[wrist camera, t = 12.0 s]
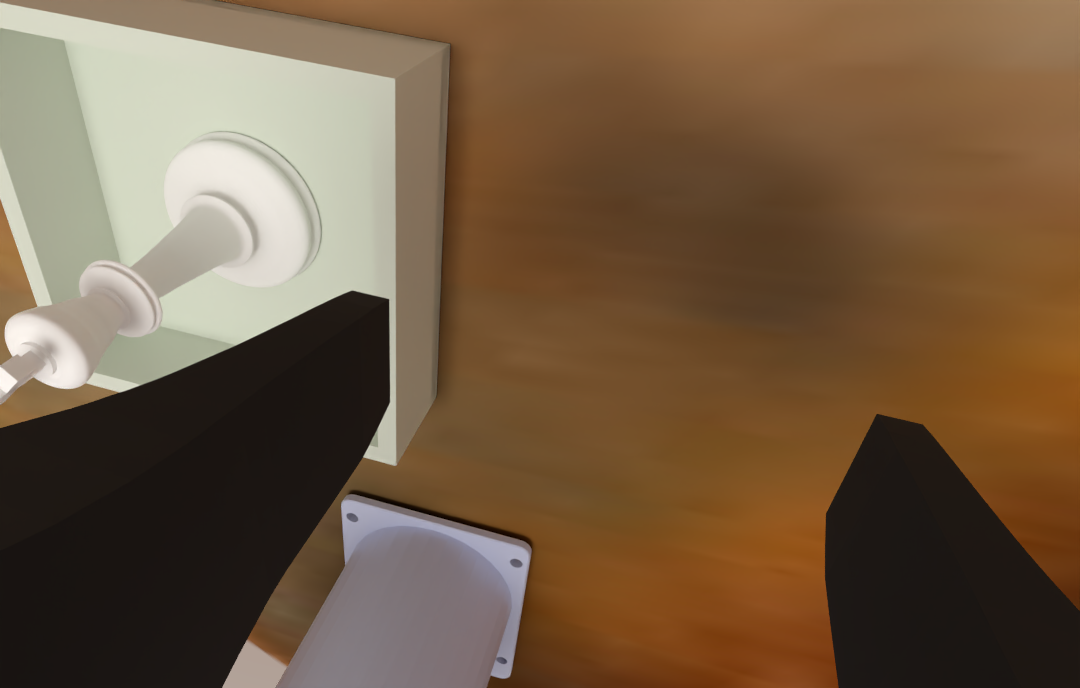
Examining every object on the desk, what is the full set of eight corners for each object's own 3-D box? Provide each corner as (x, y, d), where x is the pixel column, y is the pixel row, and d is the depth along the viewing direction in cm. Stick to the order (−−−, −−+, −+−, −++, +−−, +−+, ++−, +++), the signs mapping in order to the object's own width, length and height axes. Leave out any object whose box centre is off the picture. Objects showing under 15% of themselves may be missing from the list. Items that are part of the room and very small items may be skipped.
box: (436, 396, 26) (396, 465, 23) (135, 321, 27) (61, 376, 24) (450, 43, 19) (395, 78, 16) (45, -31, 20) (-73, -12, 18)
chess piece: (148, 191, 23) (-176, 373, 15) (229, 96, 21) (-109, 255, 13) (263, 304, 25) (25, 525, 17) (352, 229, 22) (121, 447, 14)
